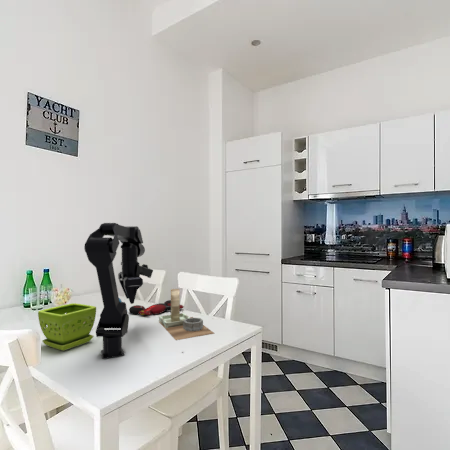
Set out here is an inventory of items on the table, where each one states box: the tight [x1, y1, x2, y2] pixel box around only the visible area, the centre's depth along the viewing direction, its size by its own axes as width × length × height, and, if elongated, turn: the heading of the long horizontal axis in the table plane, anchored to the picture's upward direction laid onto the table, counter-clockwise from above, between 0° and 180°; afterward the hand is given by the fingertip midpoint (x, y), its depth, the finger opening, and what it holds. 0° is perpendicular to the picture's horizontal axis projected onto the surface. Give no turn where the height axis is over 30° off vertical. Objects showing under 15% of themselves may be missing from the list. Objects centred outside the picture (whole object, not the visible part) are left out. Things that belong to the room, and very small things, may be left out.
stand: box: [158, 312, 215, 341], centre depth 124 cm, size 26×15×4 cm, turn 26°
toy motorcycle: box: [128, 299, 185, 316], centre depth 150 cm, size 25×5×16 cm
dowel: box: [170, 288, 181, 322], centre depth 130 cm, size 4×4×13 cm
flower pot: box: [37, 302, 97, 351], centre depth 109 cm, size 14×14×13 cm
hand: (130, 300), depth 118 cm, fingers open, 9 cm apart
